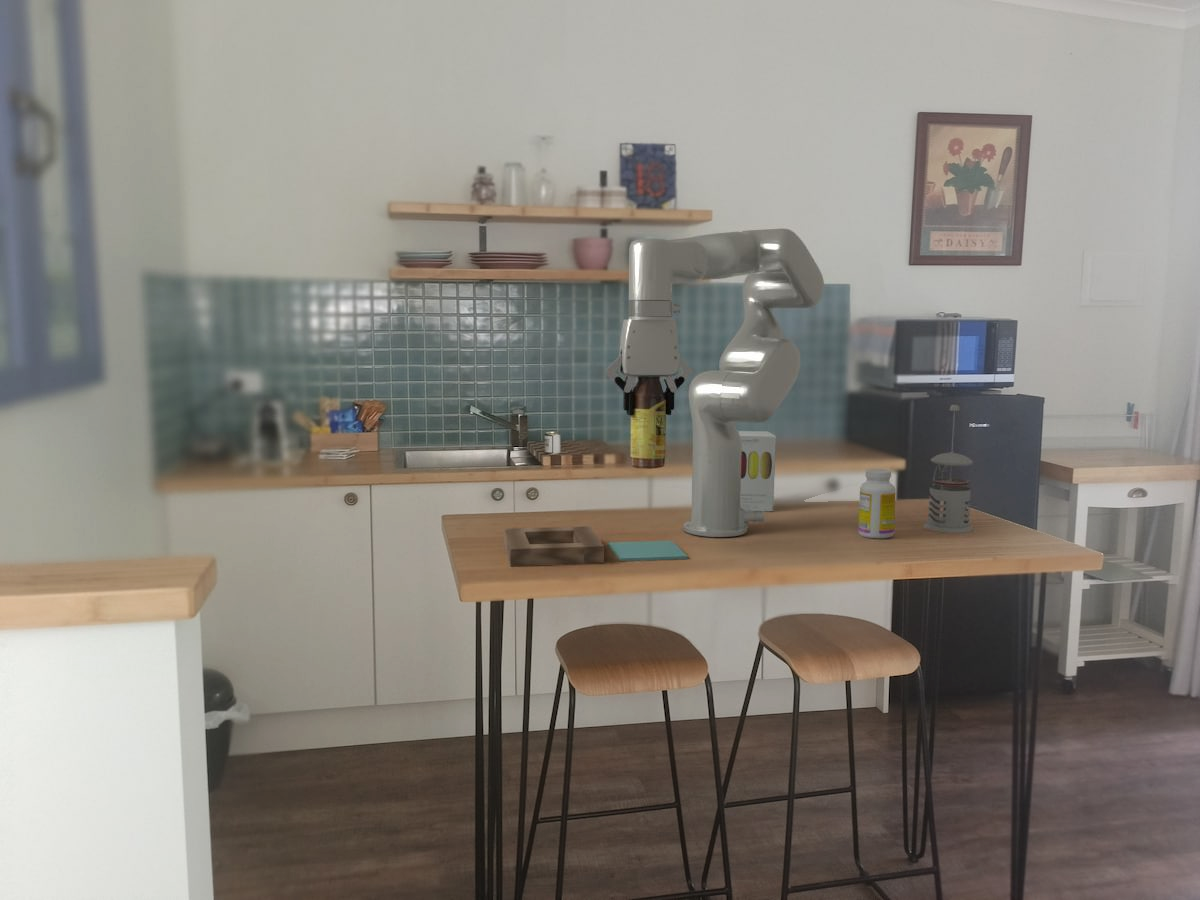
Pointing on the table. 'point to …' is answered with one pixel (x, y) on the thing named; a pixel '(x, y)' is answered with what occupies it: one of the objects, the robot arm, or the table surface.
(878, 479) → the supplement bottle
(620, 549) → the teal mat
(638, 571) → the table surface
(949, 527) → the french press
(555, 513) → the table surface
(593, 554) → the pocket block
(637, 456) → the sauce bottle
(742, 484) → the supplement box
